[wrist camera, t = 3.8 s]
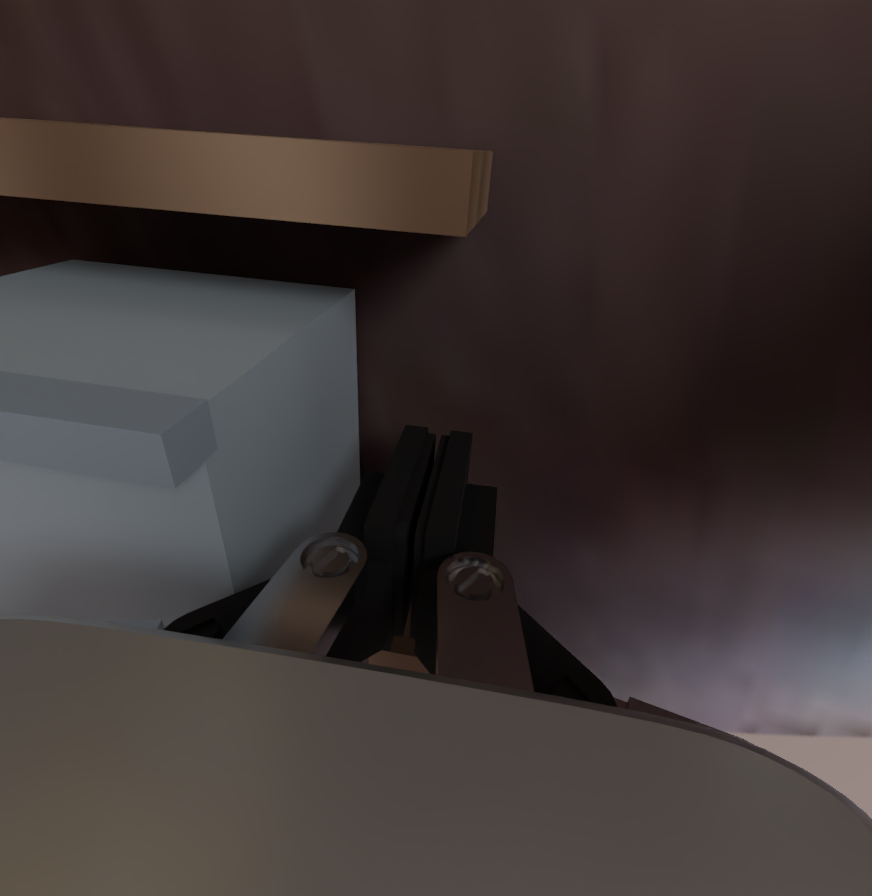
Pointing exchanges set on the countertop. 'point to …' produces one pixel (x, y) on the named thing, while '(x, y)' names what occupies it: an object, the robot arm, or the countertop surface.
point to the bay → (252, 190)
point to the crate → (167, 435)
